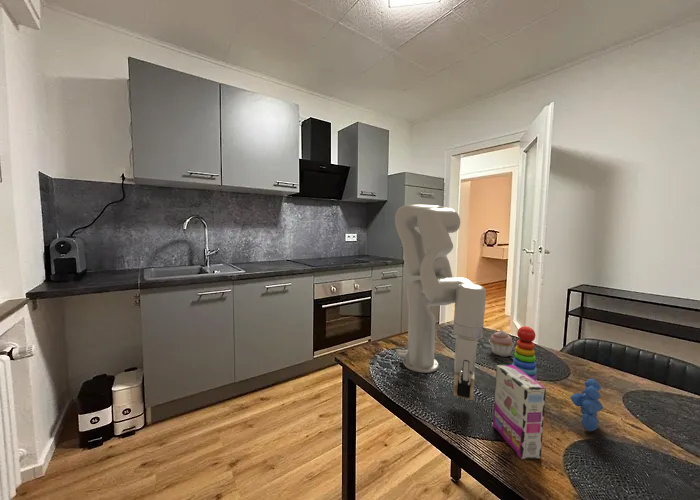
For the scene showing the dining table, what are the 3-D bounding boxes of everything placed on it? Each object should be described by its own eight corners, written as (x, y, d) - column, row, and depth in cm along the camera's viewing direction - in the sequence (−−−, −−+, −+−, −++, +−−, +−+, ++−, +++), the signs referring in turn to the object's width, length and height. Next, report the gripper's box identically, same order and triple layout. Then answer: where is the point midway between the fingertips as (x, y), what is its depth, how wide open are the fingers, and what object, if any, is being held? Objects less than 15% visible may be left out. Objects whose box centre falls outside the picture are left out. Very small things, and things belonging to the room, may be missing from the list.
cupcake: (492, 346, 124) (493, 323, 123) (516, 353, 117) (518, 329, 116) (484, 353, 117) (485, 329, 116) (509, 361, 110) (511, 335, 110)
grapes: (570, 408, 82) (573, 367, 81) (601, 418, 77) (605, 375, 76) (566, 429, 73) (569, 384, 72) (601, 442, 69) (605, 394, 68)
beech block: (453, 395, 80) (454, 375, 80) (453, 385, 85) (455, 366, 84) (472, 400, 79) (474, 379, 78) (472, 389, 83) (473, 370, 82)
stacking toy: (541, 390, 90) (545, 332, 89) (513, 387, 92) (517, 330, 90) (531, 377, 98) (534, 324, 97) (505, 375, 100) (508, 322, 98)
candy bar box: (542, 459, 64) (547, 388, 62) (521, 460, 63) (525, 389, 62) (510, 424, 75) (514, 363, 73) (492, 425, 74) (495, 364, 73)
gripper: (454, 316, 89) (450, 372, 91) (452, 339, 73) (447, 405, 75) (480, 320, 86) (476, 377, 88) (485, 344, 70) (479, 413, 72)
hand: (463, 389), depth 82 cm, fingers closed on beech block, 4 cm apart
